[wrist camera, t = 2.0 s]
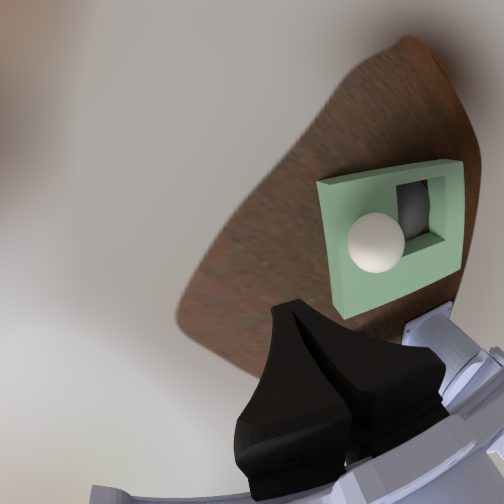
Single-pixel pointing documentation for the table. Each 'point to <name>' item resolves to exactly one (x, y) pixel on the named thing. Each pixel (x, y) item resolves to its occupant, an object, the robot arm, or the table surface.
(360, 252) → the ball
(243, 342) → the table surface
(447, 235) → the green
